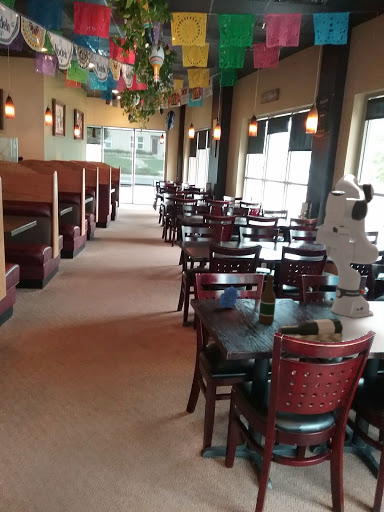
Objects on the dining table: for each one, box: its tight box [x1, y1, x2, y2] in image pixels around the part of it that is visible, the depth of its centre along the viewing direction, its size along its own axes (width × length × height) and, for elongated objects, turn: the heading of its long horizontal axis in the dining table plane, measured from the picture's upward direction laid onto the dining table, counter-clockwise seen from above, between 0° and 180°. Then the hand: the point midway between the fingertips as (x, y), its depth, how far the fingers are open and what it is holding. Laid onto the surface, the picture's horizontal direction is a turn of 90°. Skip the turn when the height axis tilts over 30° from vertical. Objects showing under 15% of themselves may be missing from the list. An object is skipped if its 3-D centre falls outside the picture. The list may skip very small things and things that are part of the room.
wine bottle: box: [277, 318, 344, 336], centre depth 191 cm, size 8×8×30 cm
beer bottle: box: [257, 274, 277, 325], centre depth 208 cm, size 8×8×24 cm
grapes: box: [219, 285, 239, 309], centre depth 228 cm, size 12×7×12 cm, turn 116°
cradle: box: [283, 325, 343, 343], centre depth 192 cm, size 24×13×4 cm, turn 107°
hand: (329, 256), depth 196 cm, fingers closed
